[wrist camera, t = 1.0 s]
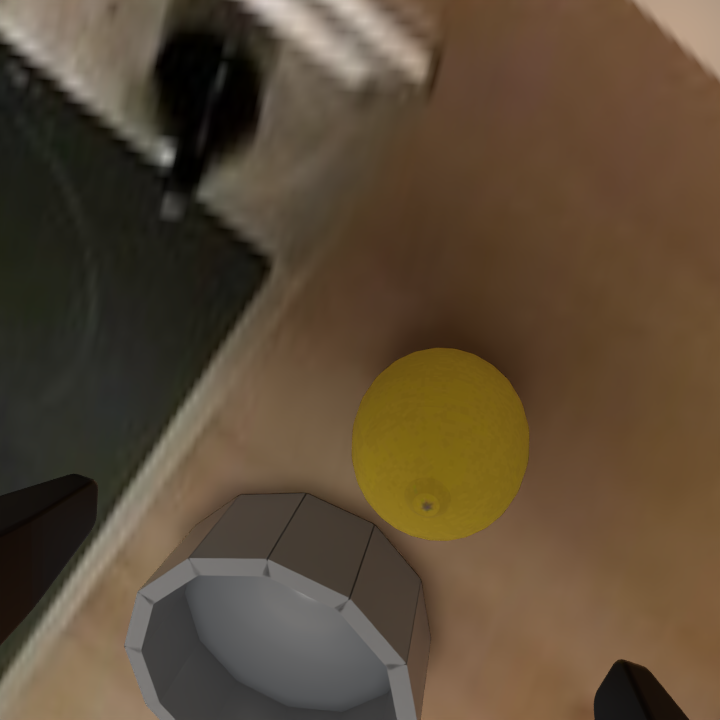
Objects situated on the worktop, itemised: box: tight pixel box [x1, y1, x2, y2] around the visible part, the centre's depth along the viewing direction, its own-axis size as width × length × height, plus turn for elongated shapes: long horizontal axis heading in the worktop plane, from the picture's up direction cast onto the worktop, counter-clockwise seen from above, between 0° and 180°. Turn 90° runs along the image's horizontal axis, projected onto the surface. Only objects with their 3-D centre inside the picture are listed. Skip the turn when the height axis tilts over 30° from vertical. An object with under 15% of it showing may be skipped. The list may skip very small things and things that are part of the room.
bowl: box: [125, 493, 431, 720], centre depth 23 cm, size 13×13×4 cm
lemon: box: [352, 348, 529, 541], centre depth 17 cm, size 6×6×8 cm
